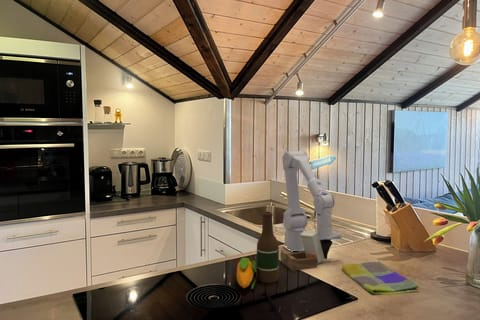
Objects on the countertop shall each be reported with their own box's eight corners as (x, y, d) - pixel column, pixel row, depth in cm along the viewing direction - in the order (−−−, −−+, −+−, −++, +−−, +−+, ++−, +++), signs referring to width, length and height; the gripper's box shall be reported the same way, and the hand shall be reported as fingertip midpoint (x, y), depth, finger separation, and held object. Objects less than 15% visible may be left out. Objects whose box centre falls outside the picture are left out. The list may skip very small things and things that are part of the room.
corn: (256, 252, 136) (256, 272, 116) (257, 272, 136) (258, 295, 116) (236, 253, 136) (232, 273, 116) (238, 274, 136) (234, 297, 117)
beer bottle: (283, 278, 130) (282, 211, 128) (269, 285, 124) (269, 215, 123) (266, 273, 135) (265, 209, 134) (252, 279, 129) (251, 212, 128)
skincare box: (306, 261, 148) (299, 234, 146) (312, 256, 150) (305, 229, 148) (319, 263, 143) (311, 236, 141) (325, 258, 146) (318, 231, 144)
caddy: (280, 261, 148) (280, 250, 148) (304, 258, 151) (304, 247, 151) (293, 271, 137) (293, 259, 136) (318, 268, 139) (318, 256, 139)
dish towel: (369, 297, 115) (369, 288, 115) (339, 269, 139) (339, 262, 139) (421, 293, 117) (421, 285, 117) (383, 267, 141) (383, 260, 141)
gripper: (312, 228, 140) (313, 263, 140) (345, 224, 144) (346, 259, 145) (304, 224, 147) (304, 258, 147) (336, 221, 151) (336, 254, 151)
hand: (324, 258), depth 146 cm, fingers closed, pressing on skincare box
